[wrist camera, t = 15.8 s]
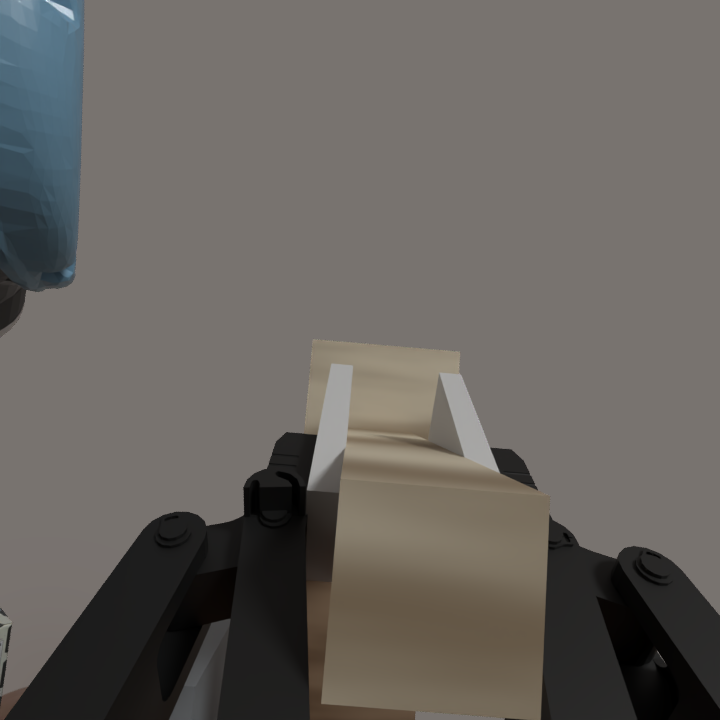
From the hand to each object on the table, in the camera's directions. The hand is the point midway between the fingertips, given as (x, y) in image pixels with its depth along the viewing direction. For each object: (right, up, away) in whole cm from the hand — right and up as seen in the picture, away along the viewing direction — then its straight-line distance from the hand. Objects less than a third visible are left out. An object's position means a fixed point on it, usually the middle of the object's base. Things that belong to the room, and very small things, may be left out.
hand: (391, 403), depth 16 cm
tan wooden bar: (0, -4, 0) cm, 4 cm away
